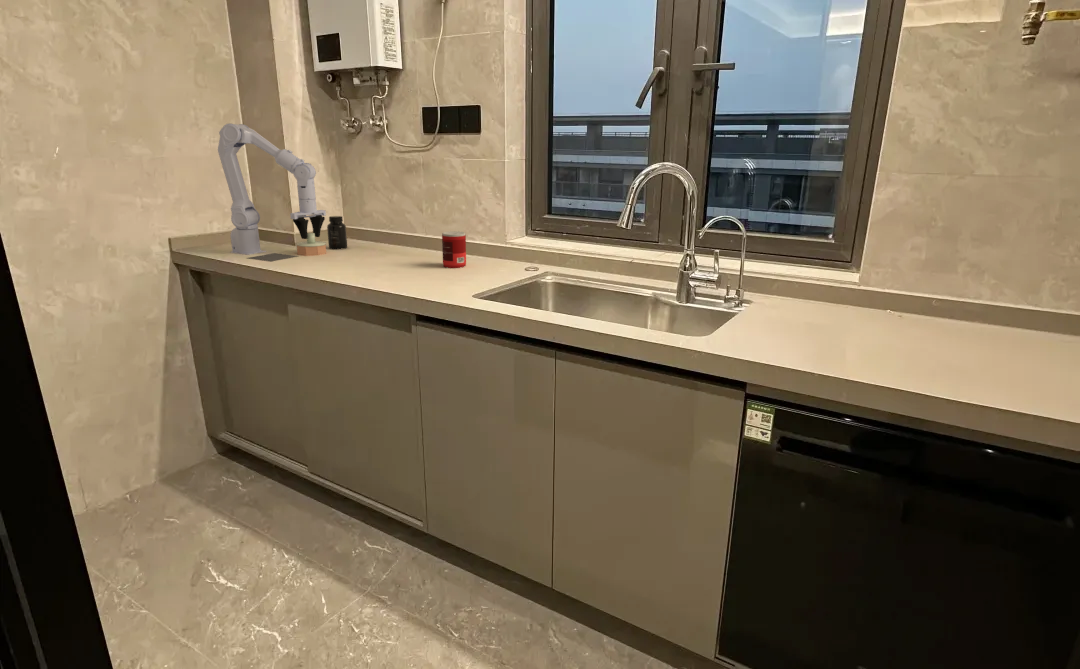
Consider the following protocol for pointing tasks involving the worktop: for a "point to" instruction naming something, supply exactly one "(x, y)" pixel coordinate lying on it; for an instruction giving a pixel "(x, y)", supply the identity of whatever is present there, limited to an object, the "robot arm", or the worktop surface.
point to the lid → (311, 241)
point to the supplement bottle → (336, 233)
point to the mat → (272, 257)
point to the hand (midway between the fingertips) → (310, 237)
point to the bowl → (311, 250)
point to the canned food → (454, 249)
